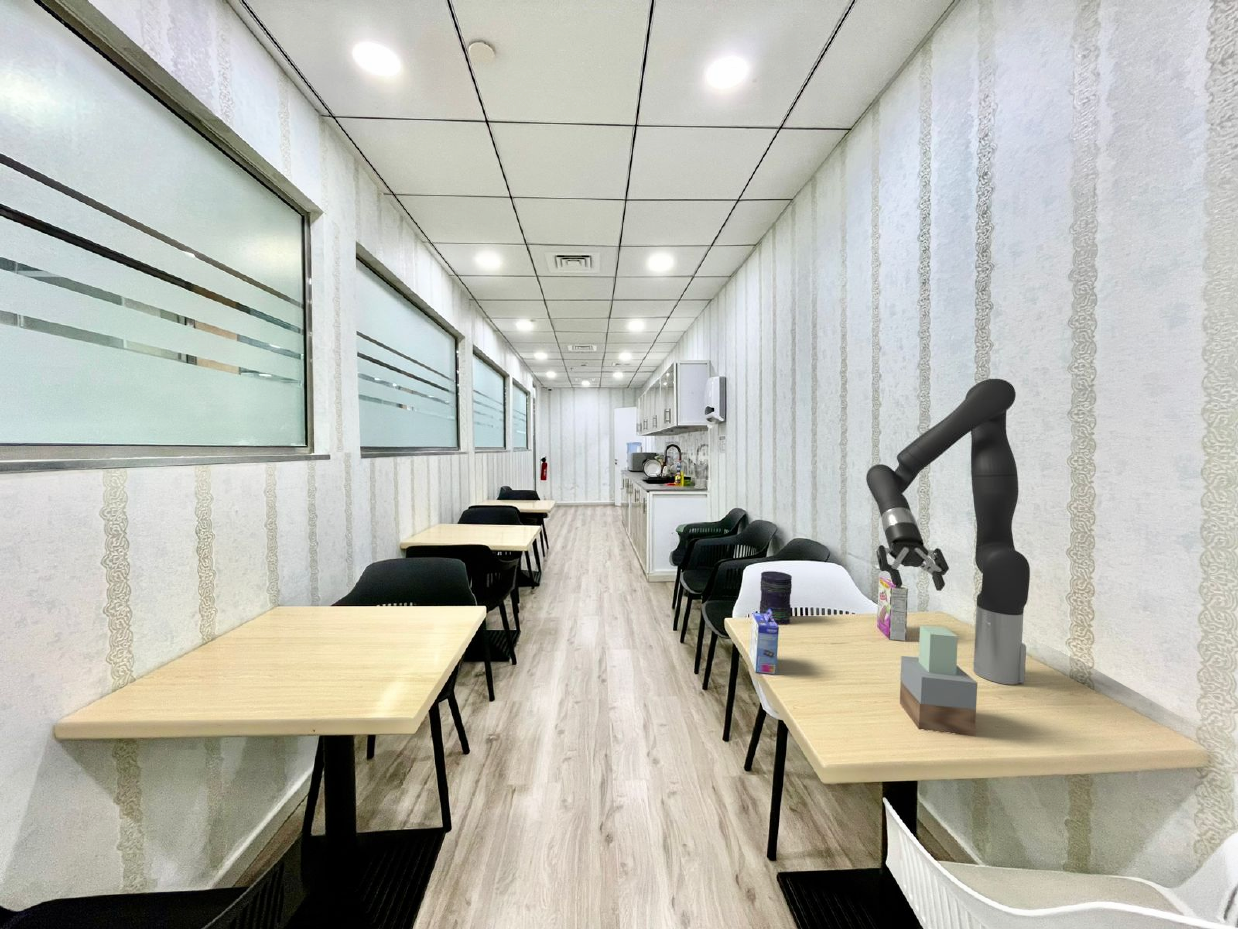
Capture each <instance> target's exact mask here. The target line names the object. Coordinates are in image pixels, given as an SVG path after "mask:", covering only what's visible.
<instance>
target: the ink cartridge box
mask: <svg viewBox="0 0 1238 929" xmlns="http://www.w3.org/2000/svg"><path fill="white" fill-rule="evenodd" d="M768 613H769V614H768ZM772 614H773V613H772V611H771V610H770V609H769V610H768V611H767V612H766V614H762V613H760V612H759V613H758V612H752V613H751V624H750V625H751V626H750V638H749V639H750V640H749V651H748V652H749V653H748V654H749V655H748V656H749V657H748V658H749V660H750V662H751V664H752V666H753V670H754V672H755V673H759V674H760V673H761V674H767V675H777V666H778V665H777V664H778V649H779V648H778V646H779V631H780V630H779V629H780V627H779V625H777V623H776V622H775V620H774V619H773V617H772Z"/></svg>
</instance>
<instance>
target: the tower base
mask: <svg viewBox="0 0 1238 929" xmlns="http://www.w3.org/2000/svg"><path fill="white" fill-rule="evenodd" d="M899 688H900V690H899V691H900V692H899V693H900V694H899V705H901V707H902V709H903V710H904V711H905V713H906V714H907V715H908V717H909V718H910V719H911V721H912V722H913V724H914V725H915V726H916V727H917V729H918V730H921V729H924V730H923V731H928V730H933V731H932V732H936V731H939V732H938V733H943V732H950V733H949V734H951V733H955V734H954V735H958V736H959V735H961V736H968V737H974V736H975V735H976V718H977V716H976V715H977V709H976V710H971V709H962V708H953V707H944V706H935V705H926V704H920V703H919V701H918V700H917V699H916V698H915V697H914V696H913V694H912V693H911V692H910V691H909V690H908V689H907V687H906V686H905V685H904V684H903V683H902V682H901V681H900V687H899ZM975 737H976V736H975Z"/></svg>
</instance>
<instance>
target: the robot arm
mask: <svg viewBox="0 0 1238 929" xmlns="http://www.w3.org/2000/svg"><path fill="white" fill-rule="evenodd" d="M1016 394H1017V393H1016V390H1015V387H1014V386H1013V385H1012V383H1011V382H1009V381H1007V380H1005V379H1002V378H989V379H985V380H982V381H979V382H977V383H976V384H975V385H973V386H972V387H971V388H969V390H968V391H967V393H966V394H965V398H964V400H963V401H962V402H961V403H960V404H959V405H958V406H957V407H956V408H955V409H954V410H952V411H951V413H950V414H948V415H947V416H946V417H944V418H943V419H942V420H940V422H938V423H937V424H935V425H934V426H932V427H930V428H929V429H928V430H927V431H925V432H923V433H922V434H921V435H920V436H919V437H917V438H916V439H915V440H913V441H912V442H911V443H910V444H908V445H907V446H906V447H905V448H903V449H902V450H901V451H900V452H899V453H897V455H896V461H897V462H898V466H897V467H896V469H894V470H893V469H892V468H891V467H890V466H889V465H887V464H883V463H882V464H875V465H873V466H871V467H870V468H869V469H868V470H867V472H866V476H865V477H866V481H865V482H866V485H867V487H868V490H869V491H870V493H871V496H872V498H873V499H874V500H875V502H876V505H877V508H878V511H879V515H880V518H881V524H882V529H883V532H884V535H885V539H886V542H887V545H888V547H885V546H884V545H883V544H880V545H879V546H878V548H877V549H876V559H877V564H878V568H879V571H881V572H888V574H889V575H890V576H889V577H890V578H891V579H892V583H893V584H894V585H896V588H900V587H901V586H902V584H903V580H902V578H901V574H900V570H899V569H898V568H899V567H900V565H902V566H903V567H906V568H907V567H913V568H918V567H919V568H920V569H922V570H923V571H924V572H928V573H929V575H931V576H932V577H931V579H932V582H933V584H934V587H935V590H936V591H938V592H941V591H943V588H945V586H946V583H945V580H944V577H943V576H945V575H946V574H947V572H948V571H949V570H950V567H949V565H948V562H947V560H946V558H945V556H944V554H943V552H942V550H941V549H940V548H939V547H937V548H934V550H933V549H931V550H930V549H927V548H926V547H925V545H924V544H925V543H924V540H923V536H922V534H921V532H920V528H919V526H918V523H917V521H916V518H915V516H914V514H913V513H912V510H911V507H910V504H909V502H908V500H907V497H906V496H905V495H904V492H906V491H907V489H908V488H909V486H910V485H911V484H912V483H913V482H914V481H915V479H916V477H918V475H919V473H921V471H922V470H924V469H925V468H926V467H928V466H930V465H931V463H933V462H934V461H936V460H937V459H938V458H939V457H941V455H942V454H944V453H945V452H946V451H947V450H948V449H951V447H952V446H953V445H955V444H956V443H957V442H959V440H961V439H962V438H963V437H965V436H966V435H967V434H968V433H970V435H971V446H970V448H971V449H970V475H971V476H970V477H971V488H972V489H971V490H972V497H973V507H974V515H975V520H976V543H975V558H974V560H975V565H976V567H977V568H978V570H979V571H980V572H981V574H982V576H981V577H982V580H981V590H980V592H979V593H978V594H977V596H976V605H975V606H976V610H975V629H974V631H975V632H974V648H973V649H974V650H973V669H972V670H973V673H975V674H976V675H978V676H979V677H981V678H984V679H986V680H988V681H991V682H995V683H997V684H1003V685H1011V686H1012V685H1013V686H1014V685H1018V684H1025V680H1026V677H1025V676H1026V661H1027V660H1026V658H1027V657H1026V656H1027V645H1026V643H1023V634H1024V633H1023V631H1024V630H1023V629H1024V614H1025V613H1024V611H1025V606H1026V604H1027V602H1028V599H1029V590H1030V580H1031V567H1030V564H1029V561H1028V559H1027V557H1026V556H1025V555H1024V554H1022V553H1021V552H1020V551H1018V550H1016V548H1015V542H1014V536H1013V528H1012V527H1013V519H1014V515H1015V511H1016V508H1017V503H1018V498H1019V477H1018V468H1017V463H1016V460H1015V456H1014V453H1013V450H1012V448H1011V445H1010V442H1009V440H1008V435H1007V411H1008V410H1009V409H1010V408H1011V407H1012V405H1014V403H1015V401H1016ZM888 554H889V555H890V556H891V557H892V558H893V559H894V561H893V562H892V564H889V561H888V558H887V556H888ZM924 562H925V563H924Z"/></svg>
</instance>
